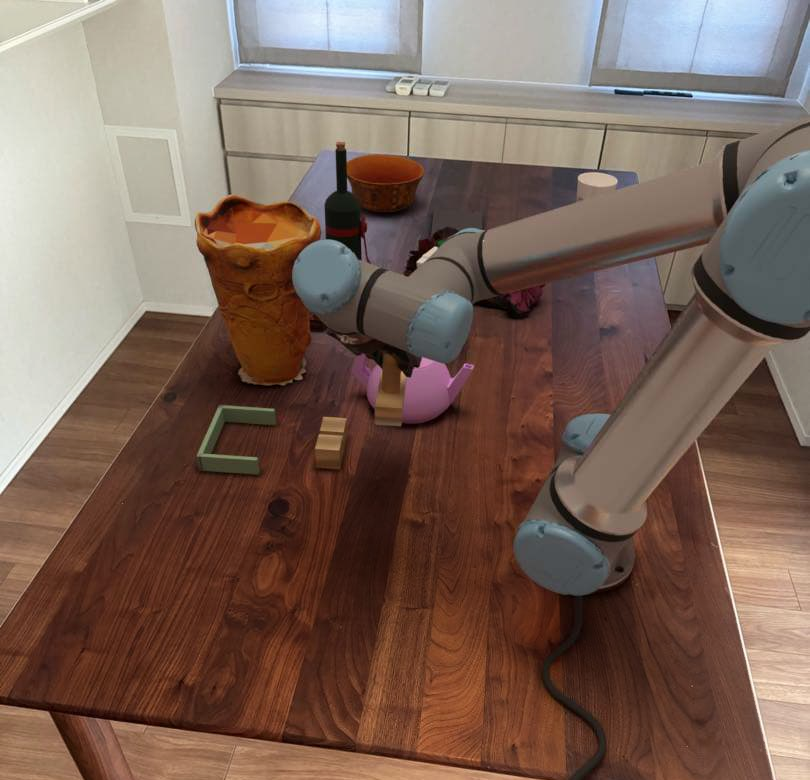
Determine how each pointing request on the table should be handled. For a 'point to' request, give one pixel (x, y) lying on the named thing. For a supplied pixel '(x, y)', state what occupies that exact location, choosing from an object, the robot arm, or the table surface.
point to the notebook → (456, 219)
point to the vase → (259, 283)
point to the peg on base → (390, 393)
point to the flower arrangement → (511, 301)
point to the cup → (594, 185)
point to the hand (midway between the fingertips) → (399, 366)
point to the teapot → (417, 387)
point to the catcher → (222, 415)
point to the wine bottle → (344, 210)
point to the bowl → (384, 181)
